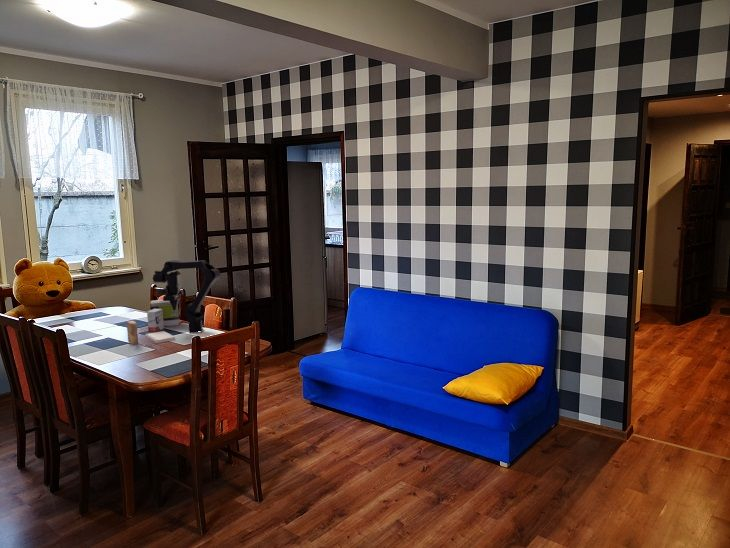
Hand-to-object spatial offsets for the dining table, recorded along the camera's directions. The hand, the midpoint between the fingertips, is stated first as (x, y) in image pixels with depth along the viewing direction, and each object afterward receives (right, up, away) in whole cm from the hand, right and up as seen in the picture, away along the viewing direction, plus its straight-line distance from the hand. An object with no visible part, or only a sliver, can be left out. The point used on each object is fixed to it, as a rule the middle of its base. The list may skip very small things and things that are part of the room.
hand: (174, 310), depth 310 cm
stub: (-14, -16, -22) cm, 30 cm away
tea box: (-11, -10, +16) cm, 22 cm away
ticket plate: (-3, -14, -13) cm, 20 cm away
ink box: (-12, -12, +4) cm, 17 cm away
